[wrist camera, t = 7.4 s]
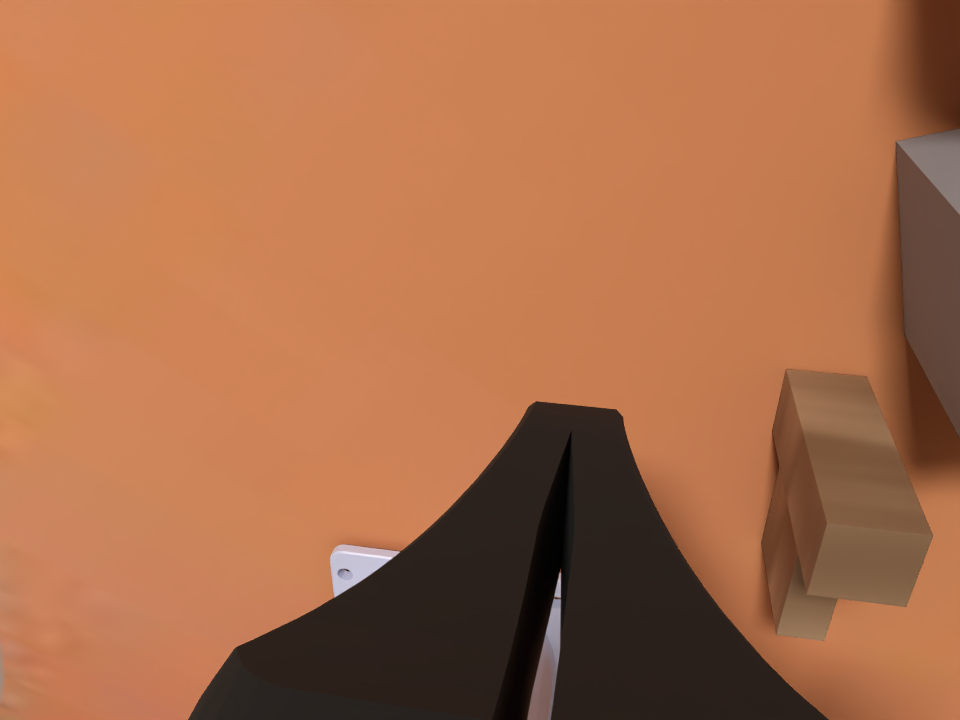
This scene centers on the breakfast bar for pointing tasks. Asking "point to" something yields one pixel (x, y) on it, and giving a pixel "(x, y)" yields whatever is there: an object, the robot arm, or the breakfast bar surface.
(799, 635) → the stepped wooden block
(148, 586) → the breakfast bar surface
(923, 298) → the grey cube
